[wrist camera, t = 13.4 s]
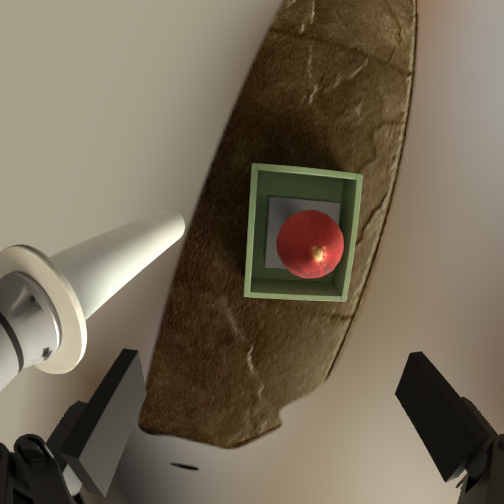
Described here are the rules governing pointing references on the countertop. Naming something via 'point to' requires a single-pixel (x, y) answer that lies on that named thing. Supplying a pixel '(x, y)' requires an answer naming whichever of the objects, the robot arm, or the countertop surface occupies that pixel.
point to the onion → (310, 244)
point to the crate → (306, 186)
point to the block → (281, 211)
